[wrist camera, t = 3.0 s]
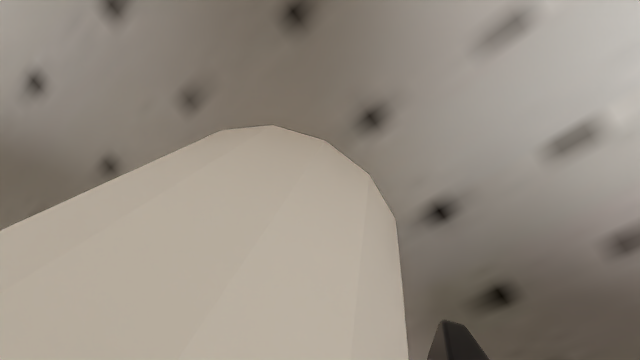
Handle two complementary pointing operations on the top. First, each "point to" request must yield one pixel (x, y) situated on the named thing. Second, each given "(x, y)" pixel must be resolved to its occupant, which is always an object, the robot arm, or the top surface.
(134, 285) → the white cup
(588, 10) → the top surface
